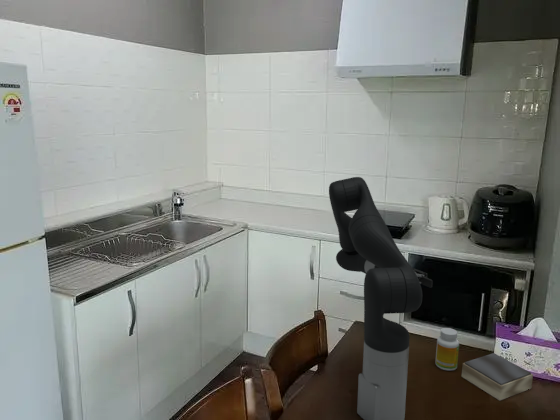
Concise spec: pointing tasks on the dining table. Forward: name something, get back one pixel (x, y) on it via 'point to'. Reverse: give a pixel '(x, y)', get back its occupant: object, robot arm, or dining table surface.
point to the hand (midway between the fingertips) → (420, 286)
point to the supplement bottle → (447, 349)
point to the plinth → (497, 376)
